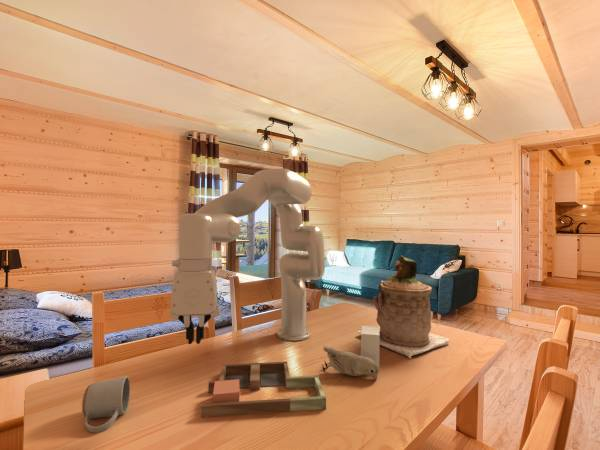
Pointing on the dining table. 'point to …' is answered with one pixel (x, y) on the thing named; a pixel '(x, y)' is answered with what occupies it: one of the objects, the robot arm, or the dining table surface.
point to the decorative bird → (350, 363)
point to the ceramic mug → (106, 401)
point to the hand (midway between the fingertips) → (195, 341)
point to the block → (226, 391)
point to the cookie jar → (405, 312)
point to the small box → (370, 343)
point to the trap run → (269, 377)
